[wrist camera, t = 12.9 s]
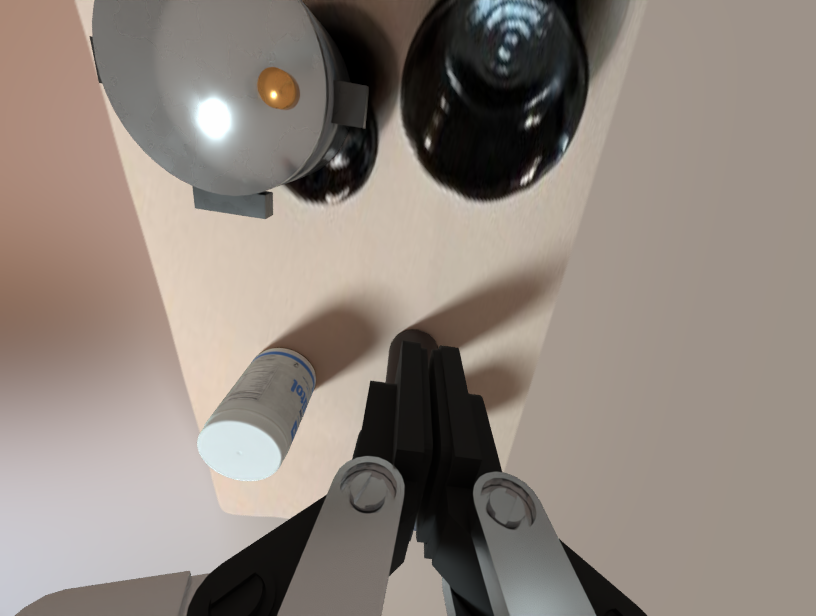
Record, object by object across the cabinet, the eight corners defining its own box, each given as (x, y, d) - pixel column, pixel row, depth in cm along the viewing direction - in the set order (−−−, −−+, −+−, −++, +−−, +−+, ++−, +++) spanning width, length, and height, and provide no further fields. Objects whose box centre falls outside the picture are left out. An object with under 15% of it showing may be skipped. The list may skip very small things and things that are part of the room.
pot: (156, -26, 32) (40, -99, 22) (385, 17, 33) (373, -33, 23) (181, 179, 40) (104, 194, 30) (366, 209, 41) (351, 232, 31)
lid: (80, -92, 22) (37, -121, 19) (335, -41, 23) (325, -63, 20) (130, 176, 29) (103, 180, 26) (323, 207, 30) (315, 214, 27)
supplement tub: (327, 391, 53) (298, 476, 40) (269, 403, 54) (223, 490, 41) (301, 337, 49) (259, 412, 35) (239, 352, 50) (177, 430, 37)
